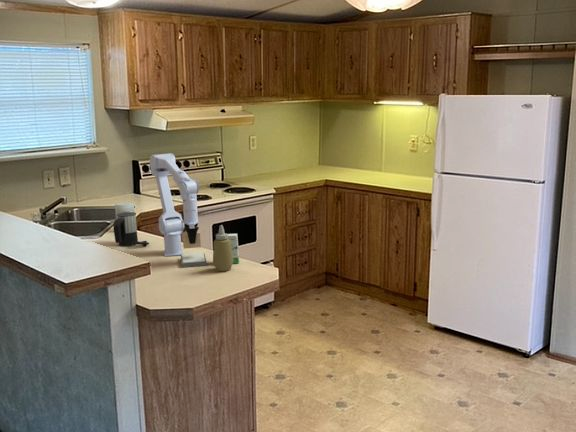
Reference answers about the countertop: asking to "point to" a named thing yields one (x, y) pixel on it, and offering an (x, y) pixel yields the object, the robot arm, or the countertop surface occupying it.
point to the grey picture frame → (193, 260)
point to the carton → (187, 244)
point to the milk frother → (126, 230)
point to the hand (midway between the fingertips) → (192, 242)
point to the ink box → (234, 247)
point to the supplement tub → (124, 207)
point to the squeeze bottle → (222, 251)
